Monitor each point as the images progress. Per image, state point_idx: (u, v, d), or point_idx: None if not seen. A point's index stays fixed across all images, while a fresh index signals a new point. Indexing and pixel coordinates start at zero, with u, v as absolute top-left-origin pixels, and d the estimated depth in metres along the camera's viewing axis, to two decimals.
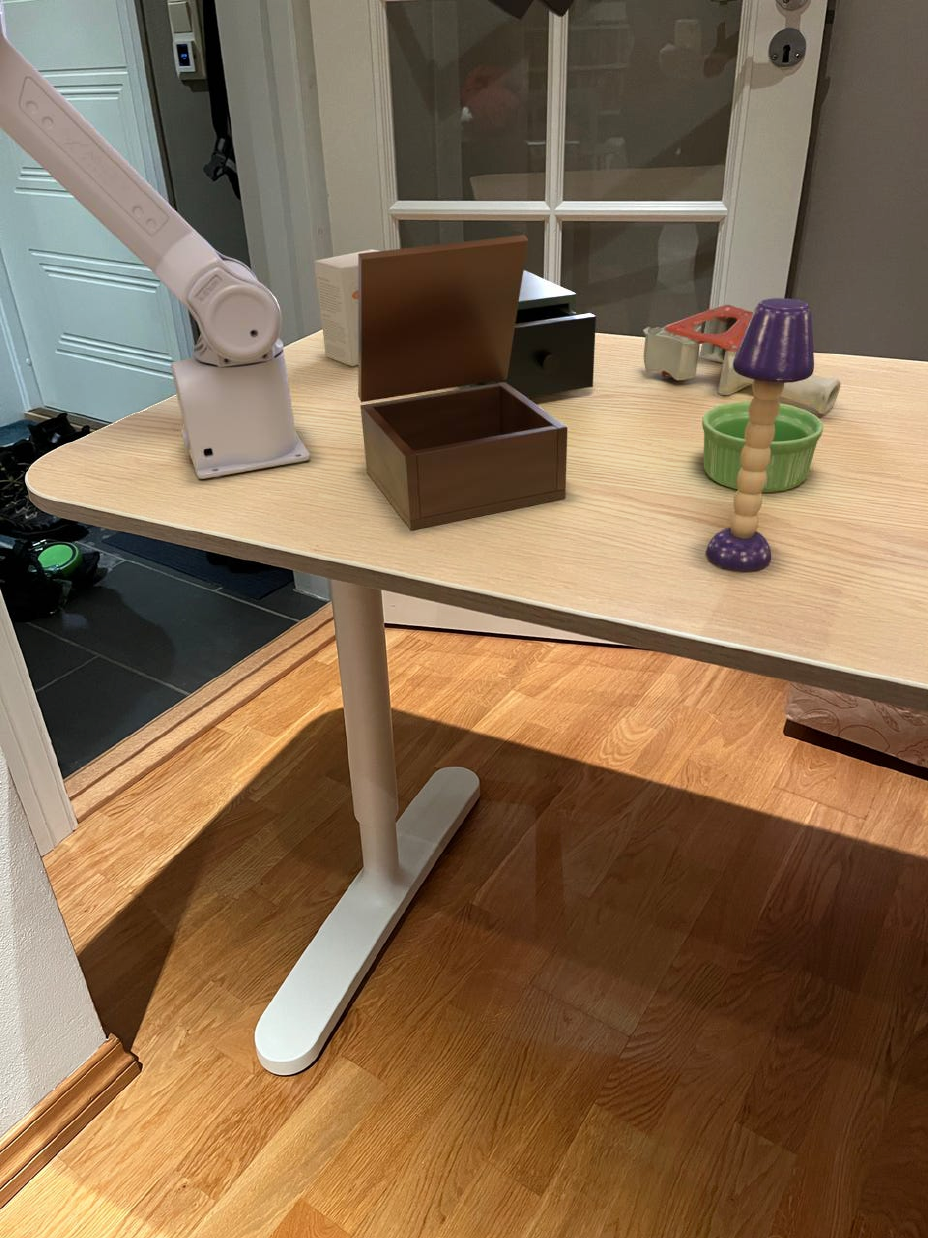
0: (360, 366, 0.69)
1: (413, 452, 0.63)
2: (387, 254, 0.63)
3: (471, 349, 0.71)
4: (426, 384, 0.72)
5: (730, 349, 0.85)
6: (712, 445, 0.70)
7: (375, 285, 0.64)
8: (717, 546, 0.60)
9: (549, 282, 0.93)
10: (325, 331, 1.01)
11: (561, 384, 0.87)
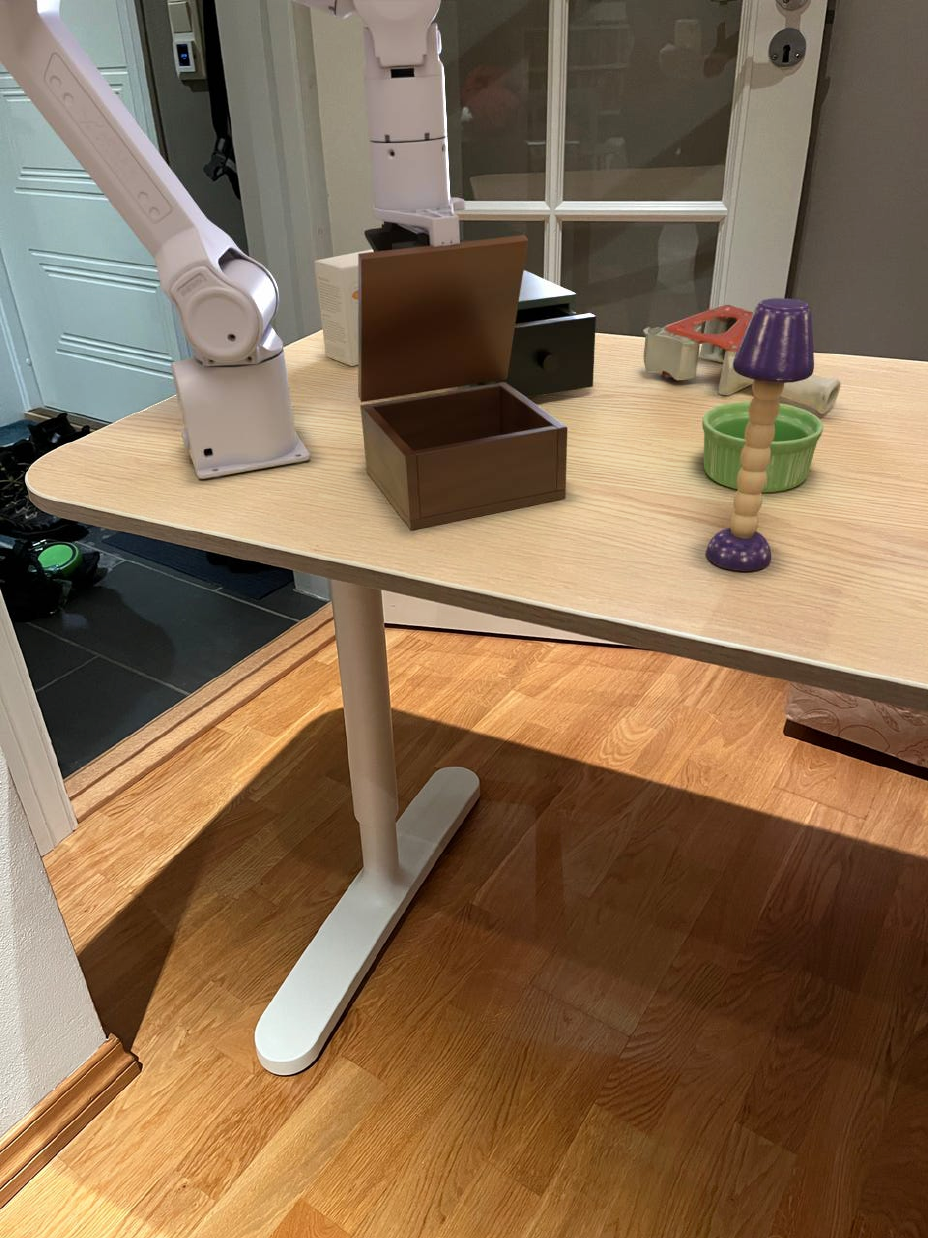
0: (360, 366, 0.69)
1: (413, 452, 0.63)
2: (387, 254, 0.63)
3: (471, 349, 0.71)
4: (426, 384, 0.72)
5: (730, 349, 0.85)
6: (712, 445, 0.70)
7: (375, 285, 0.64)
8: (717, 546, 0.60)
9: (549, 282, 0.93)
10: (325, 331, 1.01)
11: (561, 384, 0.87)
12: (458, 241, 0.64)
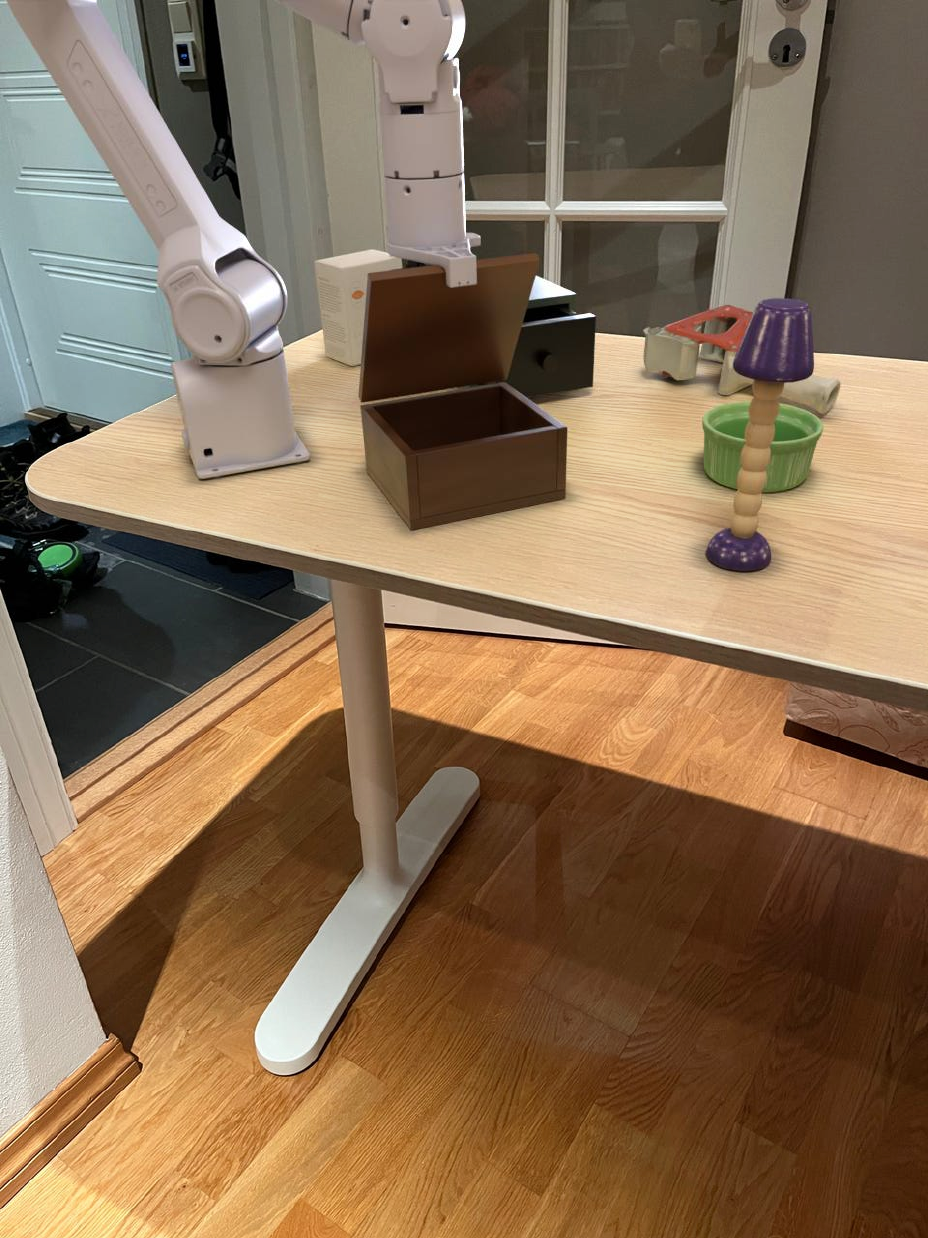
0: (362, 372, 0.69)
1: (413, 452, 0.63)
2: (397, 275, 0.62)
3: (474, 355, 0.71)
4: (426, 386, 0.72)
5: (730, 349, 0.85)
6: (712, 445, 0.70)
7: (383, 303, 0.63)
8: (717, 546, 0.60)
9: (549, 282, 0.93)
10: (325, 331, 1.01)
11: (561, 384, 0.87)
12: (475, 281, 0.63)
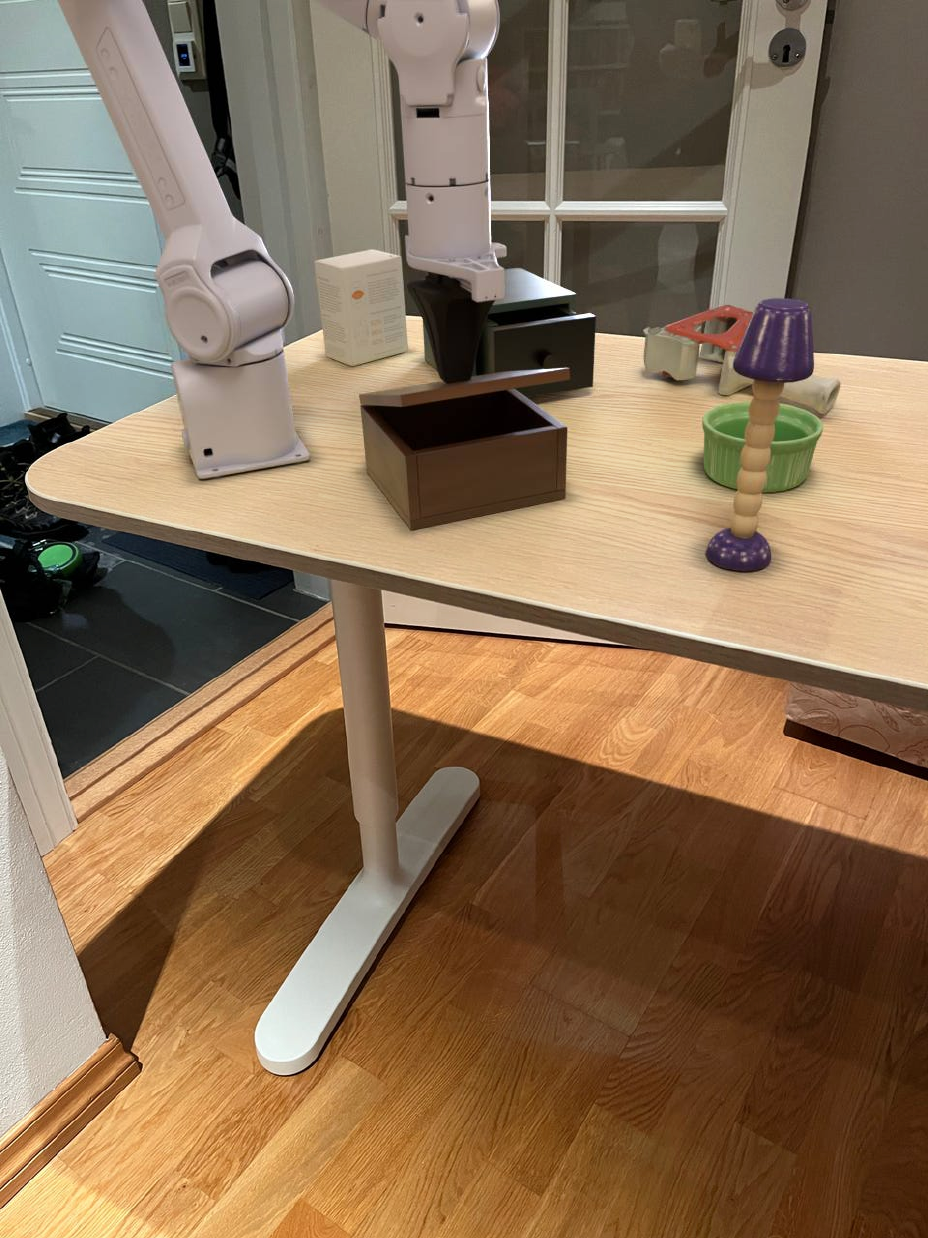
0: (370, 402, 0.69)
1: (413, 452, 0.63)
2: (429, 398, 0.61)
3: None
4: None
5: (730, 349, 0.85)
6: (712, 445, 0.70)
7: None
8: (717, 546, 0.60)
9: (549, 282, 0.93)
10: (325, 331, 1.01)
11: (561, 384, 0.87)
12: (503, 295, 0.59)
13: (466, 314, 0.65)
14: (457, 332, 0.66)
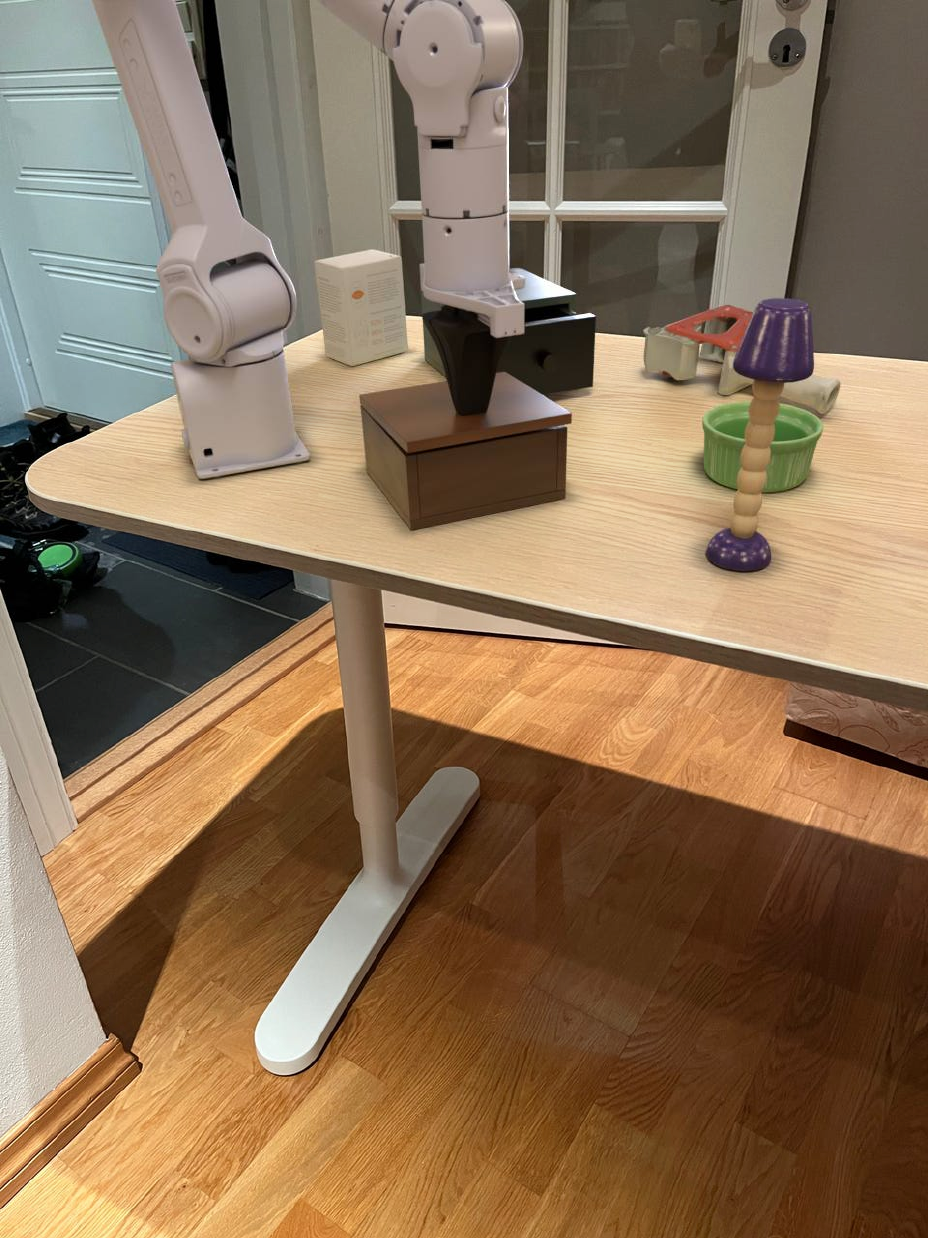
0: (371, 413, 0.69)
1: (413, 452, 0.63)
2: (434, 444, 0.63)
3: None
4: None
5: (730, 349, 0.85)
6: (712, 445, 0.70)
7: None
8: (717, 546, 0.60)
9: (549, 282, 0.93)
10: (325, 331, 1.01)
11: (561, 384, 0.87)
12: (522, 330, 0.57)
13: (483, 346, 0.63)
14: (474, 364, 0.64)
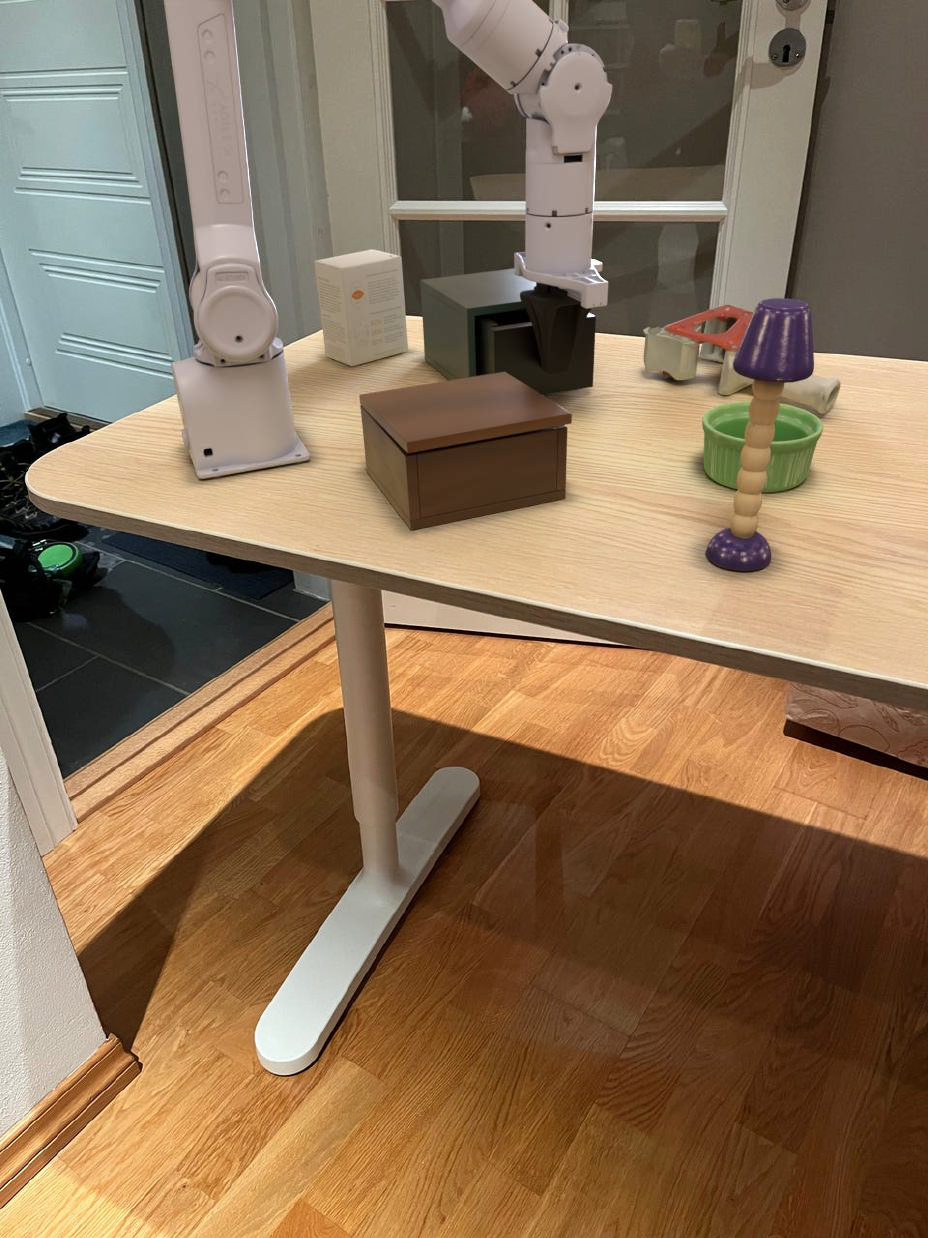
0: (371, 413, 0.69)
1: (413, 452, 0.63)
2: (434, 444, 0.63)
3: None
4: None
5: (730, 349, 0.85)
6: (712, 445, 0.70)
7: None
8: (717, 546, 0.60)
9: None
10: (325, 331, 1.01)
11: (561, 384, 0.87)
12: (606, 303, 0.74)
13: (568, 317, 0.80)
14: (560, 332, 0.81)
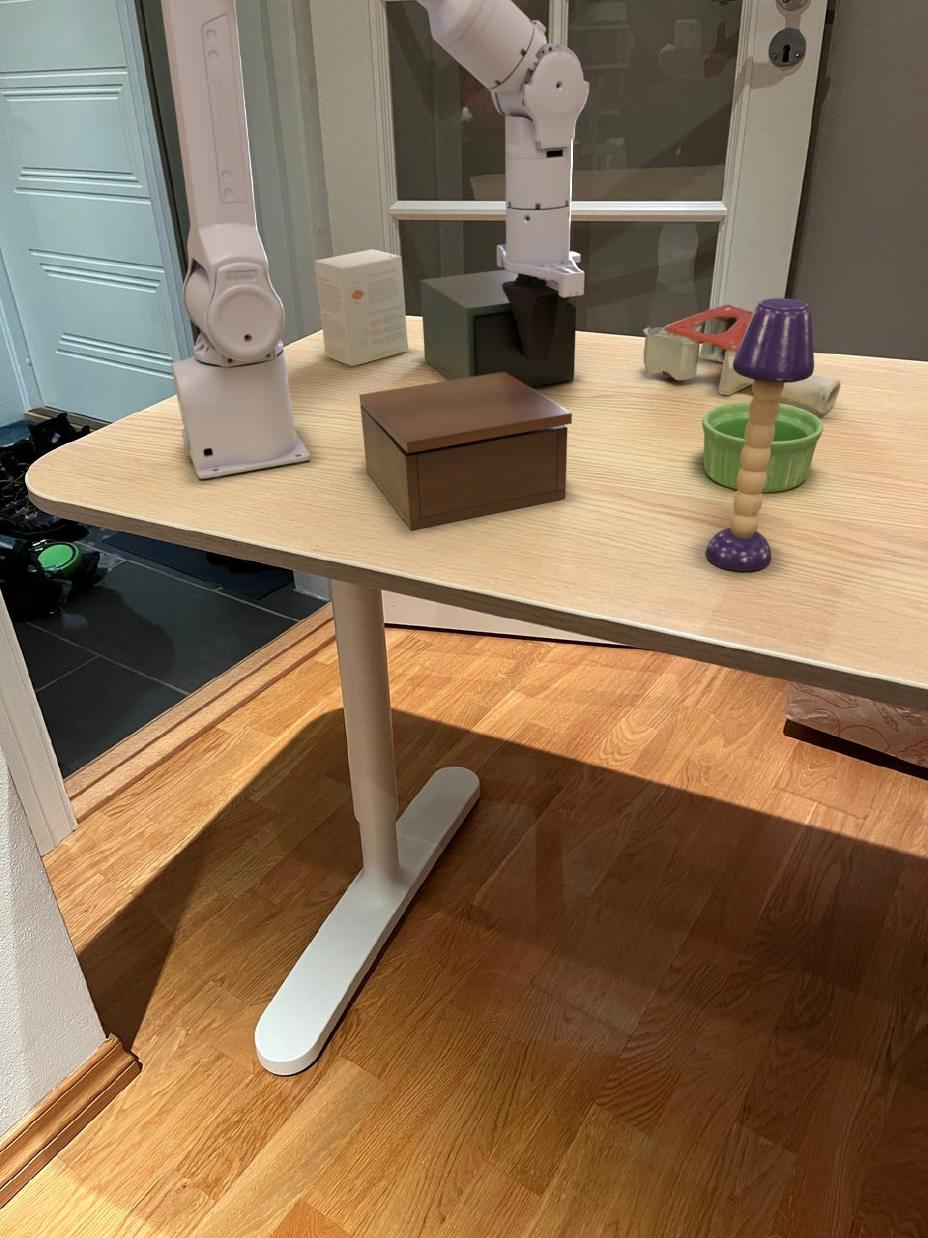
0: (371, 413, 0.69)
1: (413, 452, 0.63)
2: (434, 444, 0.63)
3: None
4: None
5: (730, 349, 0.85)
6: (712, 445, 0.70)
7: None
8: (717, 546, 0.60)
9: None
10: (325, 331, 1.01)
11: (543, 372, 0.90)
12: (582, 292, 0.77)
13: (547, 307, 0.84)
14: (540, 320, 0.84)
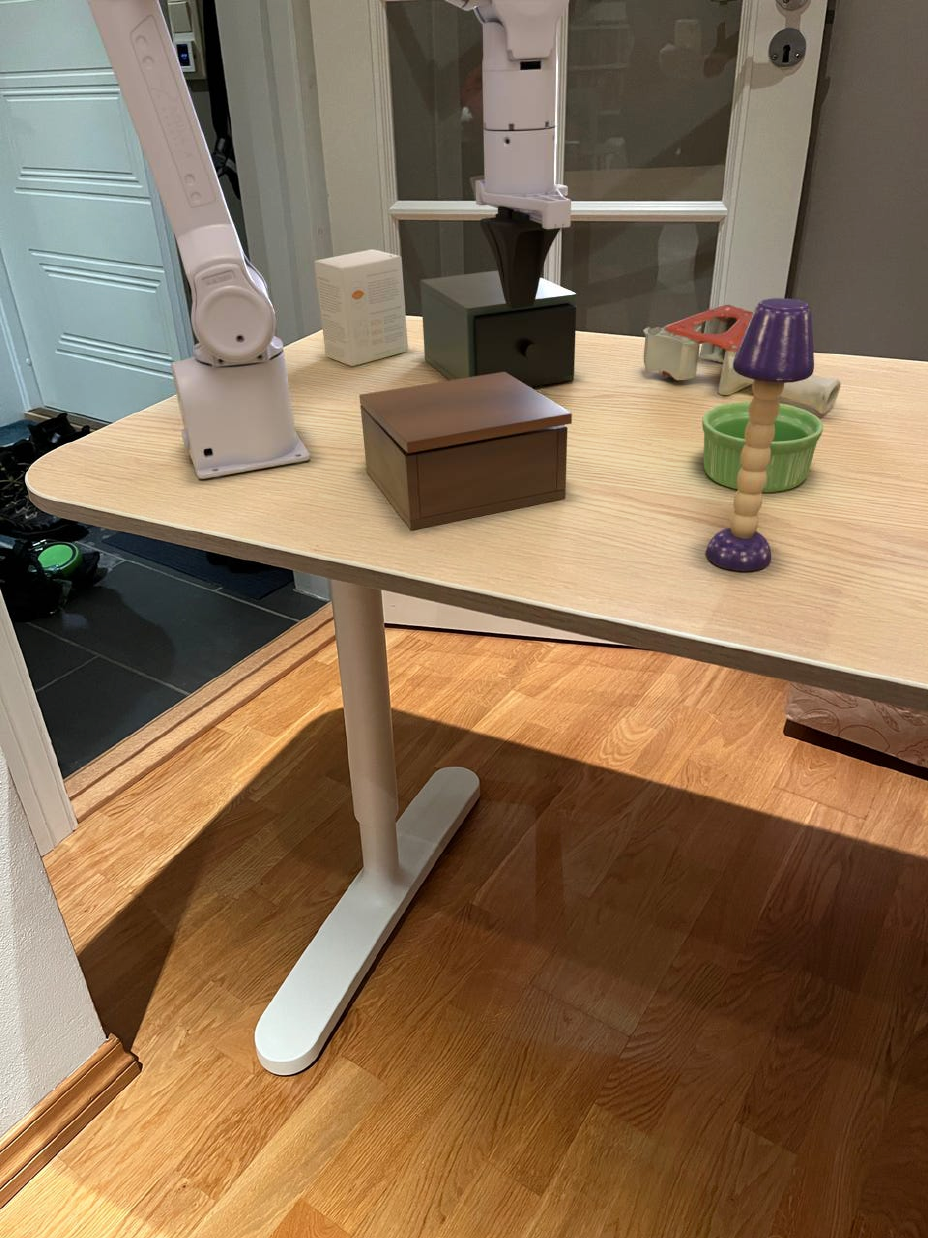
0: (371, 413, 0.69)
1: (413, 452, 0.63)
2: (434, 444, 0.63)
3: None
4: None
5: (730, 349, 0.85)
6: (712, 445, 0.70)
7: None
8: (717, 546, 0.60)
9: (549, 282, 0.93)
10: (325, 331, 1.01)
11: (543, 372, 0.90)
12: (569, 224, 0.69)
13: (532, 246, 0.75)
14: (523, 262, 0.76)
